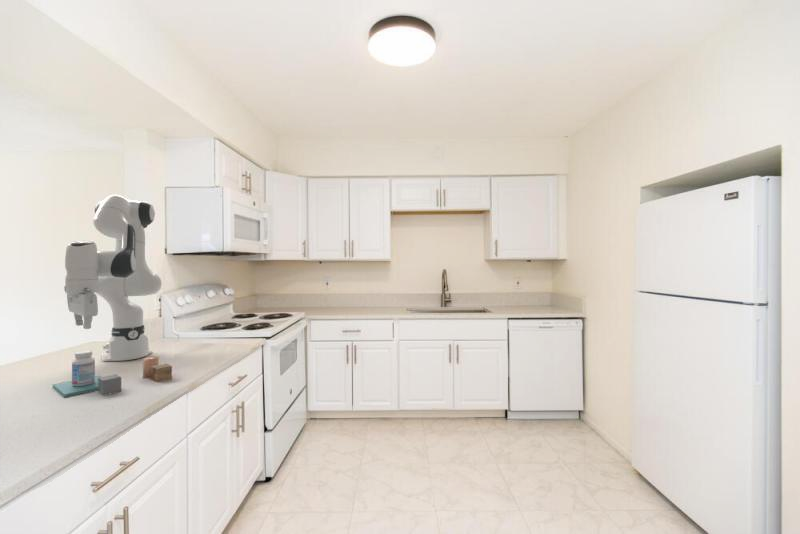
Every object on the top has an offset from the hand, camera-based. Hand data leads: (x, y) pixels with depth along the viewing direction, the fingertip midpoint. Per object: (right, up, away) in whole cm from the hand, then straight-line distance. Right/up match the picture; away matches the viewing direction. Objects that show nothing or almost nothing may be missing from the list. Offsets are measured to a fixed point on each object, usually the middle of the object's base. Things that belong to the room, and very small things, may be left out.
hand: (83, 326), depth 128 cm
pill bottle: (0, -20, 0) cm, 20 cm away
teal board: (0, -21, 0) cm, 21 cm away
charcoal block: (+13, -21, -4) cm, 25 cm away
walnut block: (+22, -21, +9) cm, 31 cm away
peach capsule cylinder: (+15, -21, +12) cm, 29 cm away
